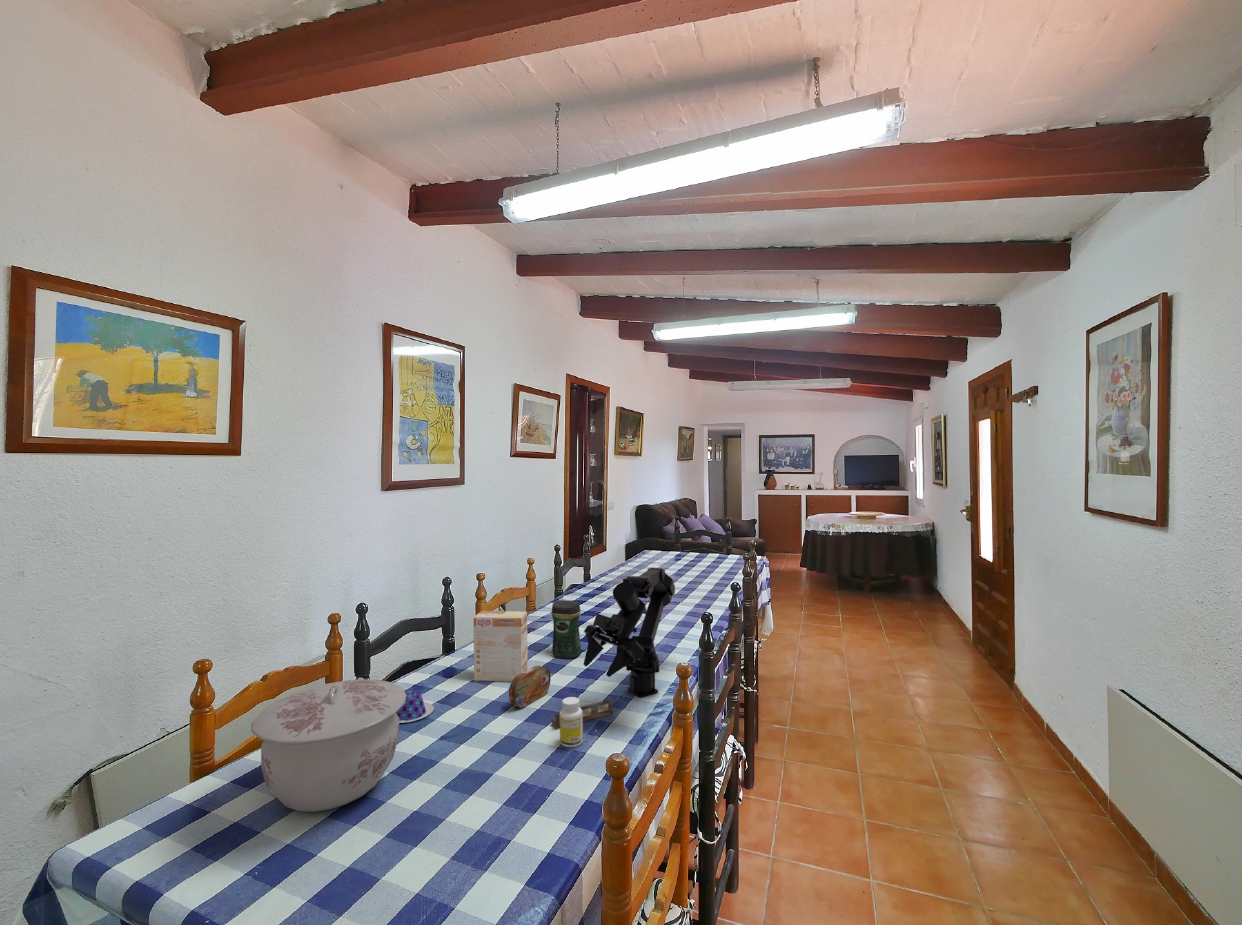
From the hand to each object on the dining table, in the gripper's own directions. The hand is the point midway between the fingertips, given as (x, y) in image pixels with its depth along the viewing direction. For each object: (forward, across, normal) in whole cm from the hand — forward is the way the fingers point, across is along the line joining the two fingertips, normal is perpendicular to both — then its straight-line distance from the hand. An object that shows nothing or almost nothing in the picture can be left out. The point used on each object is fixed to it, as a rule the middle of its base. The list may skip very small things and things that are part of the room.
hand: (595, 670), depth 135 cm
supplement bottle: (+17, +4, +1) cm, 18 cm away
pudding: (+33, -36, -15) cm, 51 cm away
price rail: (+10, -3, +7) cm, 13 cm away
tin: (+14, -21, +5) cm, 26 cm away
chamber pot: (+49, -14, -31) cm, 60 cm away
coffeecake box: (+12, -41, +6) cm, 43 cm away
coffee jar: (-6, -43, +24) cm, 50 cm away
